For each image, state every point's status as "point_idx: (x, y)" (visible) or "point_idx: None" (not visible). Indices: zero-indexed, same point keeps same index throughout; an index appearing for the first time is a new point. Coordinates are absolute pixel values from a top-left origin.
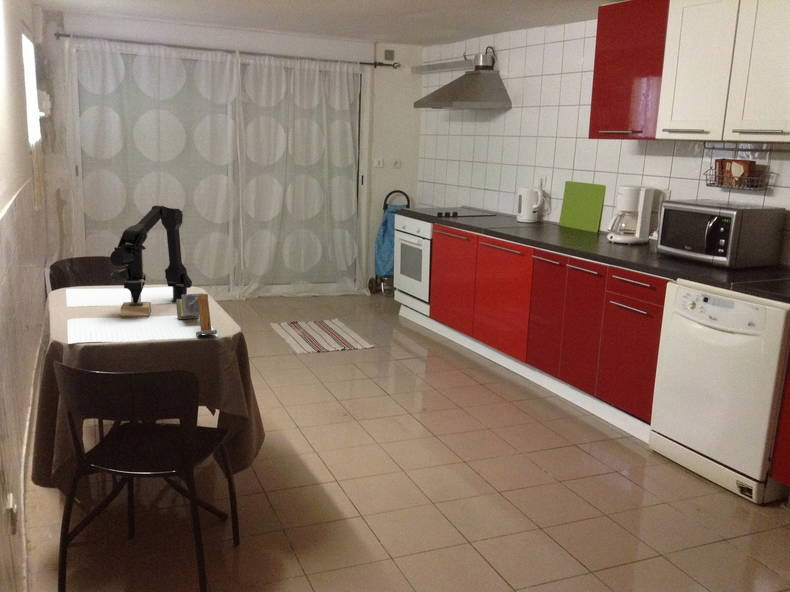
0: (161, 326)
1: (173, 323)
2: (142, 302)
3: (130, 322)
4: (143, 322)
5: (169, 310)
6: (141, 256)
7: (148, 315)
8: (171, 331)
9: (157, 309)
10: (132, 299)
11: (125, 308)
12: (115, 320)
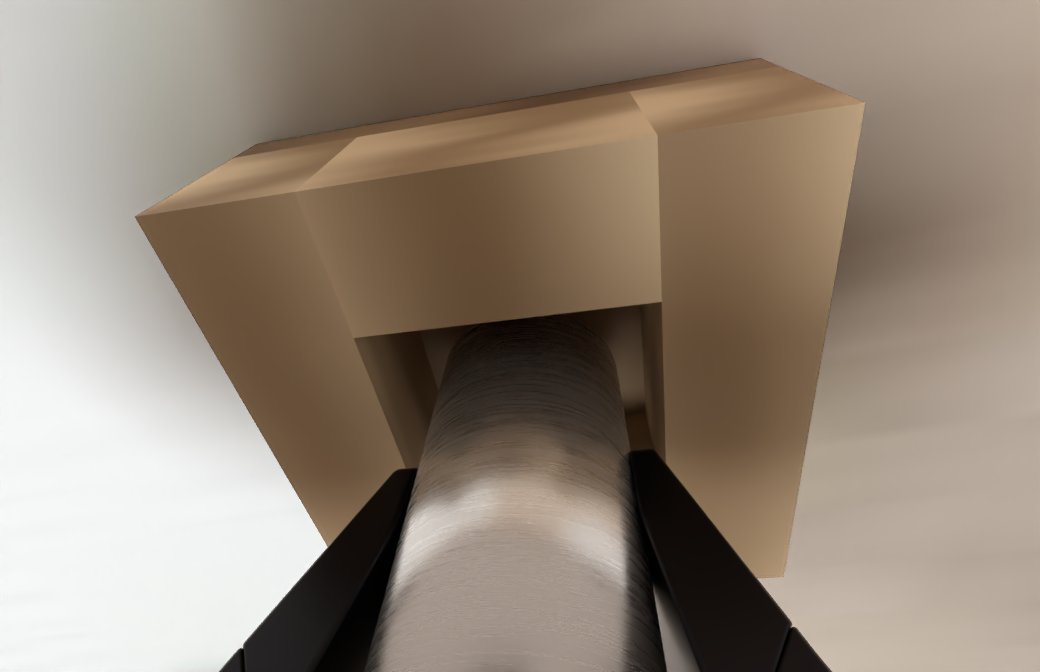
0: (101, 596)
1: (243, 643)
2: (752, 487)
3: (84, 342)
4: (162, 463)
5: (785, 578)
6: None
7: None
8: (4, 653)
9: (877, 481)
10: (408, 510)
11: (201, 308)
12: (71, 93)
